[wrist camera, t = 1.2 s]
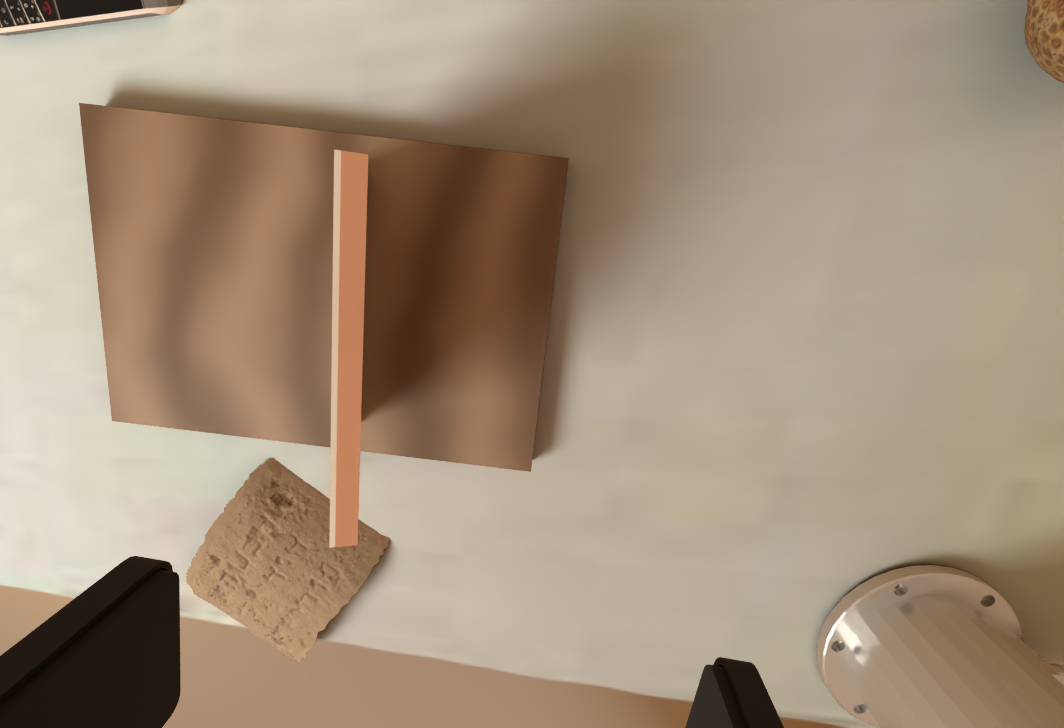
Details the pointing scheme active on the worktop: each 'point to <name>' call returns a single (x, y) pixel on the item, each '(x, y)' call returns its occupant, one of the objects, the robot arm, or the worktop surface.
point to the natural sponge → (1046, 35)
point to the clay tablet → (281, 561)
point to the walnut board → (321, 283)
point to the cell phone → (74, 13)
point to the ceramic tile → (347, 342)
